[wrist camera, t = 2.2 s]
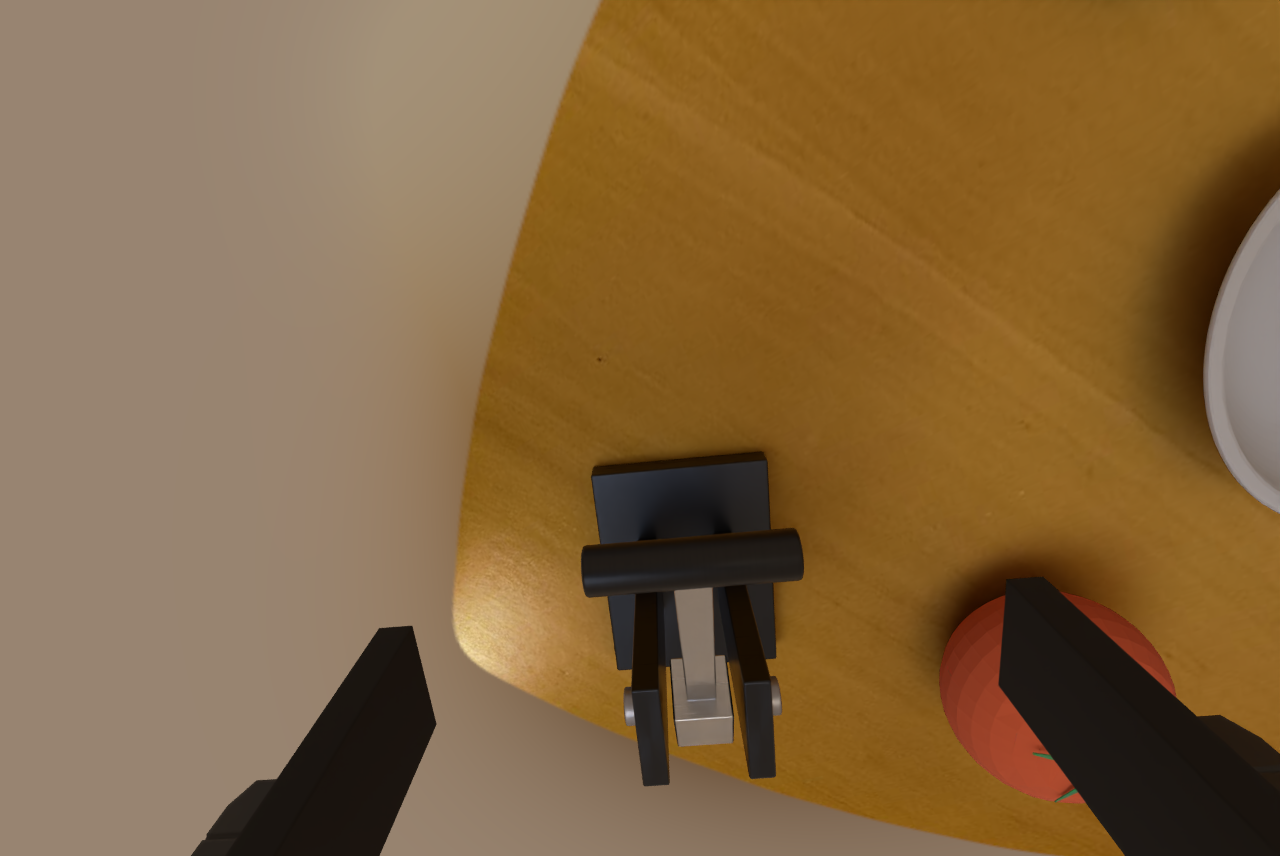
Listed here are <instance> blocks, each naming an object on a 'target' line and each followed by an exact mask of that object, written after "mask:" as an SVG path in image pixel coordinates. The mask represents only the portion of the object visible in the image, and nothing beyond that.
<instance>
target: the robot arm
mask: <svg viewBox="0 0 1280 856" xmlns="http://www.w3.org/2000/svg"><path fill="white" fill-rule="evenodd" d="M998 686H999V687H1000V688H1001V690H1002V691H1003V692H1004V694H1005V695H1006V696H1007V698H1008V699H1009V700H1010V702H1011V703H1012V704H1013V706H1014V707H1015V708H1016V710H1017V711H1018V712H1019V714H1020V715H1021V716H1022V718H1023V719H1024V721H1025V722H1026V723H1027V725H1028V726H1029V727H1030V729H1031V730H1032V731H1033V733H1034V734H1035V735H1036V737H1037V738H1038V739H1039V741H1040V742H1041V743H1042V745H1043V746H1044V747H1045V749H1046V750H1047V751H1048V753H1049V754H1050V755H1051V757H1052V758H1053V759H1054V761H1055V762H1056V763H1057V765H1058V766H1059V768H1060V769H1061V770H1062V772H1063V773H1064V774H1065V776H1066V777H1067V778H1068V780H1069V781H1070V782H1071V784H1072V785H1073V786H1074V788H1075V789H1076V790H1077V792H1078V793H1079V794H1080V796H1081V797H1082V798H1083V800H1084V801H1085V802H1086V804H1087V805H1088V806H1089V808H1090V809H1091V811H1092V812H1093V813H1094V815H1095V816H1096V817H1097V819H1098V820H1099V821H1100V823H1101V824H1102V825H1103V827H1104V828H1105V829H1106V831H1107V832H1108V833H1109V835H1110V836H1111V837H1112V839H1113V840H1114V841H1115V843H1116V844H1117V845H1118V847H1119V848H1120V849H1121V851H1122V852H1123V853H1124V855H1125V856H1280V754H1279V753H1278V752H1277V751H1276V750H1275V749H1273V748H1272V747H1271V746H1270V745H1269V744H1268V743H1266V742H1265V741H1264V740H1263V739H1262V738H1260V737H1259V736H1257V735H1255V734H1253V733H1251V732H1250V731H1248V730H1246V729H1244V728H1242V727H1241V726H1239V725H1237V724H1235V723H1234V722H1232V721H1230V720H1228V719H1226V718H1225V717H1223V716H1221V715H1213V716H1198V717H1197V716H1196V715H1195V714H1194V713H1193V712H1191V711H1190V710H1189V709H1188V708H1187V707H1186V706H1185V705H1184V704H1183V703H1182V702H1180V701H1179V700H1178V699H1177V698H1176V697H1175V696H1174V695H1173V694H1172V693H1171V692H1169V691H1168V690H1167V689H1166V688H1165V687H1164V686H1163V685H1162V684H1161V683H1160V682H1158V681H1157V680H1156V679H1155V678H1154V677H1153V676H1152V675H1151V674H1150V673H1149V672H1147V671H1146V670H1145V669H1144V668H1143V667H1142V666H1141V665H1140V664H1139V663H1138V662H1136V661H1135V660H1134V659H1133V658H1132V657H1131V656H1130V655H1129V654H1128V653H1127V652H1125V651H1124V650H1123V649H1122V648H1121V647H1120V646H1119V645H1118V644H1117V643H1116V642H1114V641H1113V640H1112V639H1111V638H1110V637H1109V636H1108V635H1107V634H1106V633H1105V632H1103V631H1102V630H1101V629H1100V628H1099V627H1098V626H1097V625H1096V624H1095V623H1094V622H1092V621H1091V620H1090V619H1089V618H1088V617H1087V616H1086V615H1085V614H1084V613H1083V612H1081V611H1080V610H1079V609H1078V608H1077V607H1076V606H1075V605H1074V604H1073V603H1072V602H1070V601H1069V600H1068V599H1067V598H1066V597H1065V596H1064V595H1063V594H1062V593H1061V592H1059V591H1058V590H1057V589H1056V588H1055V587H1054V586H1053V585H1052V584H1051V583H1050V582H1048V581H1047V580H1046V579H1045V578H1044V577H1031V578H1019V579H1007V580H1006V593H1005V606H1004V618H1003V631H1002V644H1001V656H1000V669H999V682H998ZM435 726H436V721H435V716H434V712H433V708H432V704H431V700H430V696H429V692H428V688H427V684H426V680H425V676H424V671H423V667H422V663H421V659H420V655H419V651H418V647H417V643H416V639H415V635H414V631H413V627H412V626H402V627H389V628H379V629H378V631H377V632H376V634H375V635H374V637H373V638H372V640H371V641H370V643H369V644H368V646H367V647H366V649H365V650H364V652H363V653H362V655H361V656H360V657H359V659H358V661H357V662H356V663H355V665H354V666H353V668H352V669H351V671H350V672H349V674H348V675H347V677H346V678H345V680H344V681H343V682H342V684H341V685H340V687H339V688H338V690H337V692H336V693H335V694H334V696H333V697H332V699H331V700H330V702H329V703H328V705H327V706H326V708H325V709H324V710H323V712H322V713H321V715H320V716H319V718H318V719H317V721H316V723H315V724H314V725H313V727H312V728H311V730H310V731H309V733H308V734H307V736H306V737H305V738H304V740H303V741H302V743H301V745H300V746H299V747H298V749H297V750H296V752H295V753H294V755H293V756H292V758H291V759H290V761H289V762H288V764H287V765H286V767H285V768H284V769H283V771H282V773H281V774H280V775H279V777H278V778H277V779H273V780H258V781H256V782H254V783H253V784H252V785H251V786H250V787H249V788H247V789H246V790H245V791H244V792H243V793H242V794H241V795H239V797H237V798H236V799H235V800H234V801H233V802H231V803H230V804H229V805H228V806H227V807H226V809H225V810H224V812H223V813H222V814H221V815H220V817H219V818H218V820H217V821H216V822H215V824H214V825H213V826H212V828H211V829H210V830H209V832H208V833H207V837H206V840H202V841H201V843H200V844H199V845H198V847H197V848H196V850H195V851H194V852H193V854H192V855H191V856H380V853H381V851H382V849H383V846H384V844H385V842H386V839H387V837H388V835H389V833H390V830H391V828H392V826H393V823H394V821H395V818H396V816H397V814H398V811H399V809H400V807H401V805H402V803H403V800H404V797H405V795H406V793H407V791H408V789H409V786H410V784H411V782H412V779H413V777H414V775H415V773H416V770H417V768H418V765H419V763H420V761H421V759H422V757H423V754H424V752H425V750H426V747H427V745H428V743H429V740H430V738H431V735H432V734H433V731H434V729H435Z"/></svg>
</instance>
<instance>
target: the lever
mask: <svg viewBox="0 0 1280 856" xmlns="http://www.w3.org/2000/svg"><path fill="white" fill-rule="evenodd" d="M581 574H582V583H583V589H584V592H585V595H586V596H587V597H589V598H591V597H603V596H615V595H627V594H640V593H652V592H664V591H674V595H675V604H676V612H677V620H678V629H679V637H680V645H681V654H682V658H672V659H670V674H671V688H672V703H673V718H674V725H675V731H676V737H677V743H678V746H694V745H709V744H723V743H732V742H733V741H734V713H733V705H732V697H731V690H730V682H729V675H728V667H727V660H726V655H715V638H714V609H713V587H726V586H738V585H750V584H762V583H775V582H787V581H799V580H801V579H802V578H803V574H804V559H803V551H802V545H801V541H800V537H799V534H798V532H797V530H796V529H794V528H785V529H773V530H762V531H750V532H738V533H726V534H715V535H703V536H691V537H680V538H668V539H656V540H644V541H633V542H621V543H609V544H598V545H586V546H584V547H583V550H582V554H581Z"/></svg>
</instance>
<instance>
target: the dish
mask: <svg viewBox="0 0 1280 856" xmlns="http://www.w3.org/2000/svg"><path fill="white" fill-rule="evenodd" d="M1203 388H1204V399H1205V408H1206V413H1207V418H1208V423H1209V427H1210V430H1211V433H1212V436H1213V440H1214V442H1215V445H1216V447H1217V449H1218V451H1219V454H1220V456H1221V458H1222V459H1223V461H1224V463H1225V464H1226V466H1227V468H1228V470H1229V471H1230V472H1231V474H1232V475H1233V476H1234V478H1235V479H1236V480H1237V481H1238V483H1239V484H1240V485H1241V486H1242V487H1243V488H1244V489H1245V490H1246V491H1247V492H1248V493H1249V494H1250V495H1252V496H1253V497H1254V498H1256V499H1257V500H1258V501H1259V502H1261V503H1262V504H1263V505H1265V506H1267V507H1268V508H1270V509H1272V510H1273V511H1275V512H1277V513H1280V189H1279V190H1278V191H1277V192H1276V194H1275V195H1274V196H1273V197H1272V199H1271V200H1270V201H1269V202H1268V203H1267V205H1266V206H1265V207H1264V209H1263V210H1262V211H1261V213H1260V214H1259V216H1258V217H1257V219H1256V220H1255V222H1254V223H1253V224H1252V226H1251V227H1250V229H1249V231H1248V232H1247V234H1246V236H1245V237H1244V239H1243V241H1242V243H1241V244H1240V246H1239V248H1238V250H1237V252H1236V254H1235V256H1234V258H1233V260H1232V262H1231V264H1230V266H1229V268H1228V270H1227V273H1226V275H1225V277H1224V280H1223V282H1222V285H1221V287H1220V290H1219V293H1218V296H1217V299H1216V302H1215V305H1214V308H1213V312H1212V316H1211V320H1210V324H1209V328H1208V333H1207V340H1206V346H1205V354H1204V368H1203Z"/></svg>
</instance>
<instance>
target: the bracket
mask: <svg viewBox="0 0 1280 856" xmlns="http://www.w3.org/2000/svg"><path fill="white" fill-rule="evenodd" d="M591 480H592V487H593V494H594V501H595V509H596V516H597V523H598V531H599V538H600V544H609V543H621V542H633V541H644V540H656V539H668V538H680V537H691V536H703V535H715V534H726V533H738V532H750V531H762V530H771V527H770V506H769V484H768V462H767V459H766V457H765V455H764V453H763V452H754V453H743V454H732V455H721V456H710V457H699V458H688V459H677V460H666V461H655V462H644V463H633V464H622V465H611V466H600V467H594V468H593V471H592V475H591ZM608 604H609V611H610V618H611V625H612V633H613V640H614V647H615V655H616V662H617V669H618V670H630V669H632V683H631V687H625V689H624V714H625V721H626V725H627V726H633V725H636V733H637V741H638V748H639V755H640V763H641V771H642V779H643V785H644V786H656V785H657V786H658V785H669V783H670V779H669V749H668V718H667V687H666V667H670V659H672V658H682V654H681V645H680V637H679V629H678V620H677V612H676V604H675V595H674V591H664V592H652V593H640V594H627V595H615V596H608ZM713 609H714V638H715V655H726V660H727V662H729V664H730V670H731V676H732V681H733V687H734V693H735V698H736V704H737V710H738V715H739V721H740V727H741V732H742V738H743V744H744V749H745V755H746V761H747V767H748V772H749V777H750V778H751V779H758V778H773V777H775V776H776V765H775V744H774V724H773V715H781V713H782V702H781V694H780V688H779V683H778V680H777V678H776V676H770V674H769V670H768V667H767V663H766V659H775V658H776V636H775V614H774V593H773V583H762V584H750V585H738V586H726V587H713Z"/></svg>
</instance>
